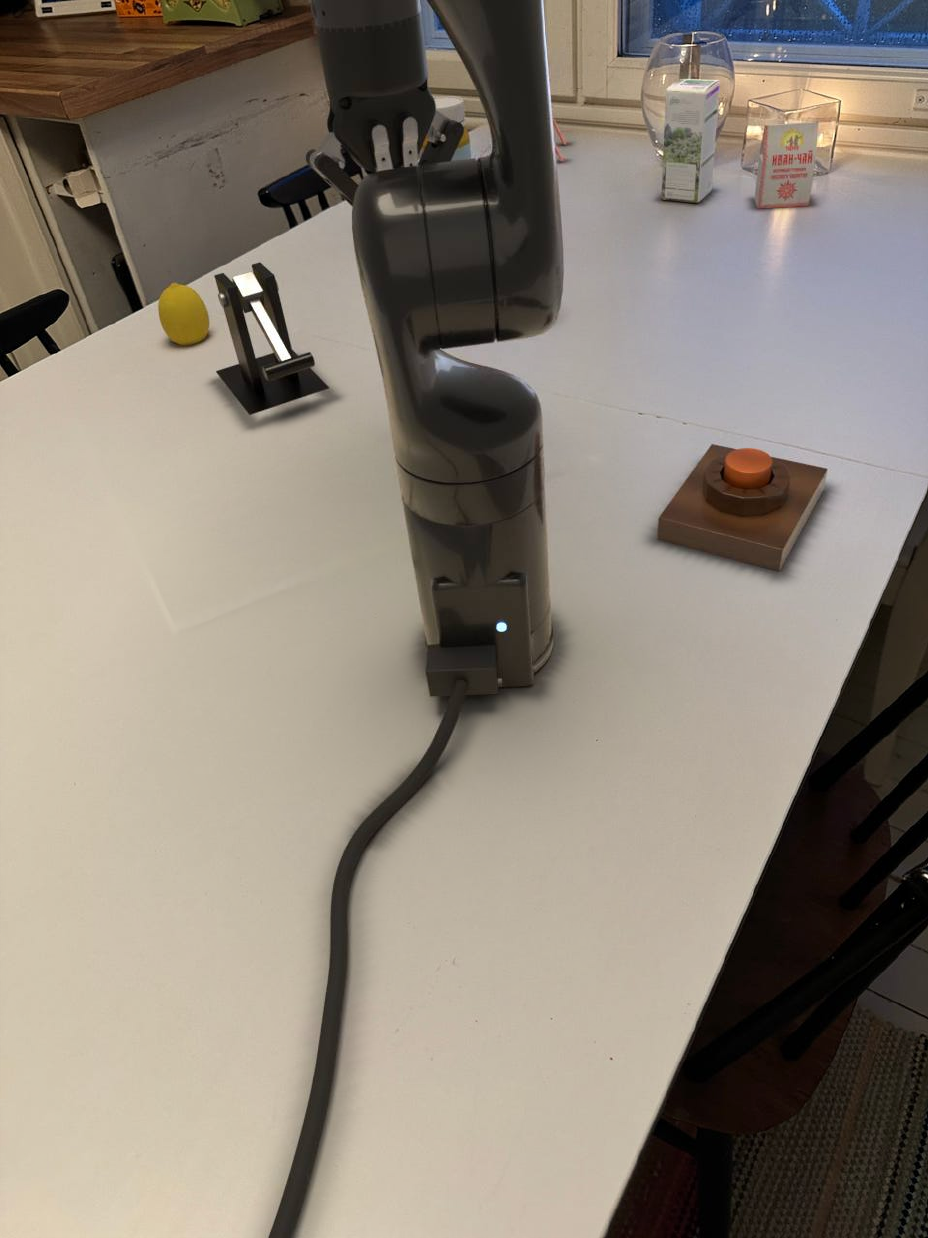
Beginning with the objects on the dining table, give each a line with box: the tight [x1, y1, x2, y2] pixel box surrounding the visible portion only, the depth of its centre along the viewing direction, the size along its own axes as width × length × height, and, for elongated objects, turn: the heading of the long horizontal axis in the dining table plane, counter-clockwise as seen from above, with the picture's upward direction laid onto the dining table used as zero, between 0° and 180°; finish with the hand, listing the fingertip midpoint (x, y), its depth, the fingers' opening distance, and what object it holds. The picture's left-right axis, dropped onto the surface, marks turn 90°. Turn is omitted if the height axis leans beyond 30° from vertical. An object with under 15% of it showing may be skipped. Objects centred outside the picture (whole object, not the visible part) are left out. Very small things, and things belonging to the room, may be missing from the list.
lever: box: [231, 270, 316, 381], centre depth 93 cm, size 12×5×2 cm, turn 29°
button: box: [724, 447, 772, 490], centre depth 74 cm, size 4×4×2 cm
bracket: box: [213, 261, 330, 416], centre depth 97 cm, size 12×9×13 cm
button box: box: [656, 443, 828, 572], centre depth 76 cm, size 12×10×4 cm
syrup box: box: [661, 78, 721, 204], centre depth 129 cm, size 6×6×14 cm
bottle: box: [420, 95, 472, 161], centre depth 132 cm, size 7×7×15 cm
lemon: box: [157, 282, 210, 346], centre depth 109 cm, size 6×6×8 cm
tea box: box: [753, 121, 819, 210], centre depth 125 cm, size 4×7×10 cm, turn 84°
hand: (402, 259), depth 76 cm, fingers closed
